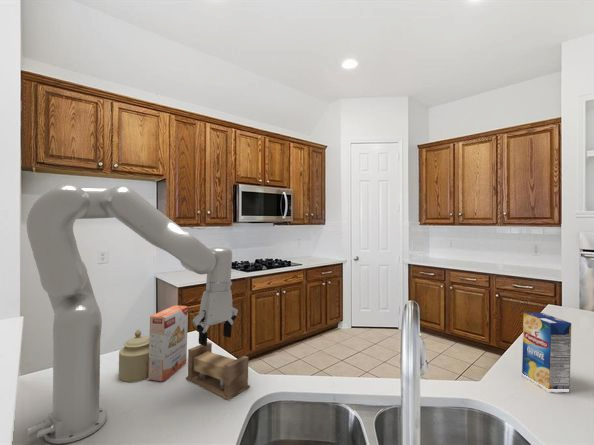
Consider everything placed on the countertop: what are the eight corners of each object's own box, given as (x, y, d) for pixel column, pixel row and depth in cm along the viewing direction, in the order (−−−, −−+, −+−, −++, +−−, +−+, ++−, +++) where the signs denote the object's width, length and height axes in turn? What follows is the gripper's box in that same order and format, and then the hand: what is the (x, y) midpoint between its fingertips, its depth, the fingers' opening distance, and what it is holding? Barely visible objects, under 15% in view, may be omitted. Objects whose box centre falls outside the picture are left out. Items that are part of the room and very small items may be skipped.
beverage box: (549, 393, 98) (550, 323, 97) (521, 375, 109) (523, 312, 108) (569, 393, 98) (571, 323, 98) (540, 375, 109) (542, 312, 109)
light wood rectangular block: (193, 370, 100) (193, 357, 100) (207, 363, 106) (207, 351, 106) (226, 382, 94) (227, 368, 94) (239, 373, 99) (240, 361, 99)
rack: (227, 400, 90) (228, 367, 90) (185, 378, 102) (186, 349, 102) (249, 387, 97) (250, 356, 97) (208, 368, 109) (208, 341, 109)
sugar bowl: (129, 362, 113) (130, 320, 113) (162, 360, 115) (162, 319, 115) (112, 383, 98) (113, 336, 98) (150, 381, 100) (150, 334, 100)
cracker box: (164, 382, 99) (165, 317, 99) (147, 380, 100) (148, 315, 100) (187, 363, 113) (189, 305, 113) (172, 361, 114) (173, 304, 114)
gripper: (230, 281, 109) (228, 331, 108) (187, 288, 94) (184, 344, 94) (246, 285, 104) (243, 336, 104) (203, 292, 90) (200, 351, 90)
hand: (215, 340), depth 99 cm, fingers open, 9 cm apart
